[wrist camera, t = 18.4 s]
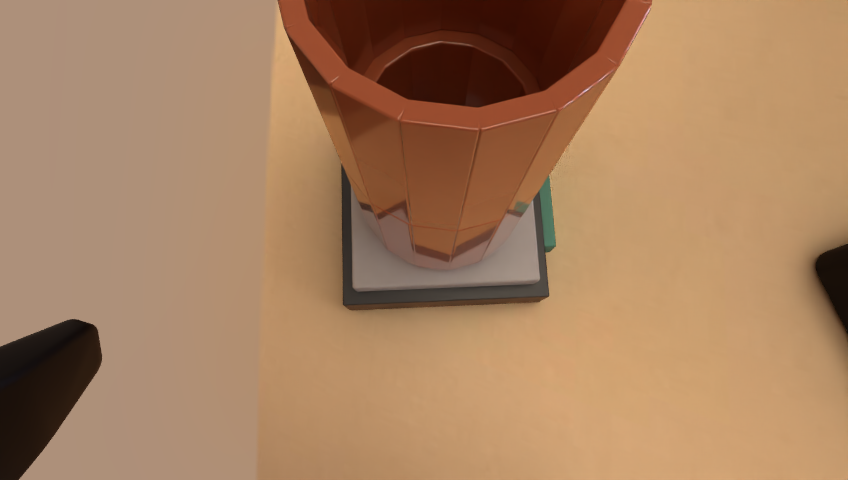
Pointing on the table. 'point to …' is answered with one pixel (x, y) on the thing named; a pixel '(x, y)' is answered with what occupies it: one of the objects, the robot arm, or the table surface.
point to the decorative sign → (835, 278)
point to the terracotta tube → (455, 106)
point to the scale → (469, 285)
